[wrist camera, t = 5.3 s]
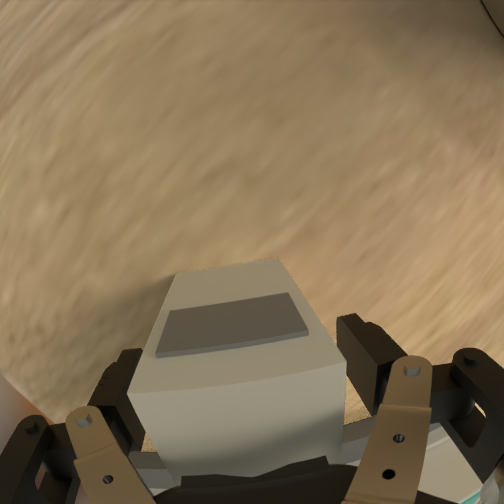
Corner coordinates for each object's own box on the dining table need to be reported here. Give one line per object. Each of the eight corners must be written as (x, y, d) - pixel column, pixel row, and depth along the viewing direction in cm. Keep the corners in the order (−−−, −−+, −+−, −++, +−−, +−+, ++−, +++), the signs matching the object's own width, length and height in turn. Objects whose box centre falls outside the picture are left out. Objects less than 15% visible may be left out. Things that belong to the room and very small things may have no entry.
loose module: (175, 269, 13) (124, 388, 5) (278, 253, 13) (346, 355, 6) (202, 374, 15) (195, 510, 7) (289, 360, 15) (336, 490, 7)
